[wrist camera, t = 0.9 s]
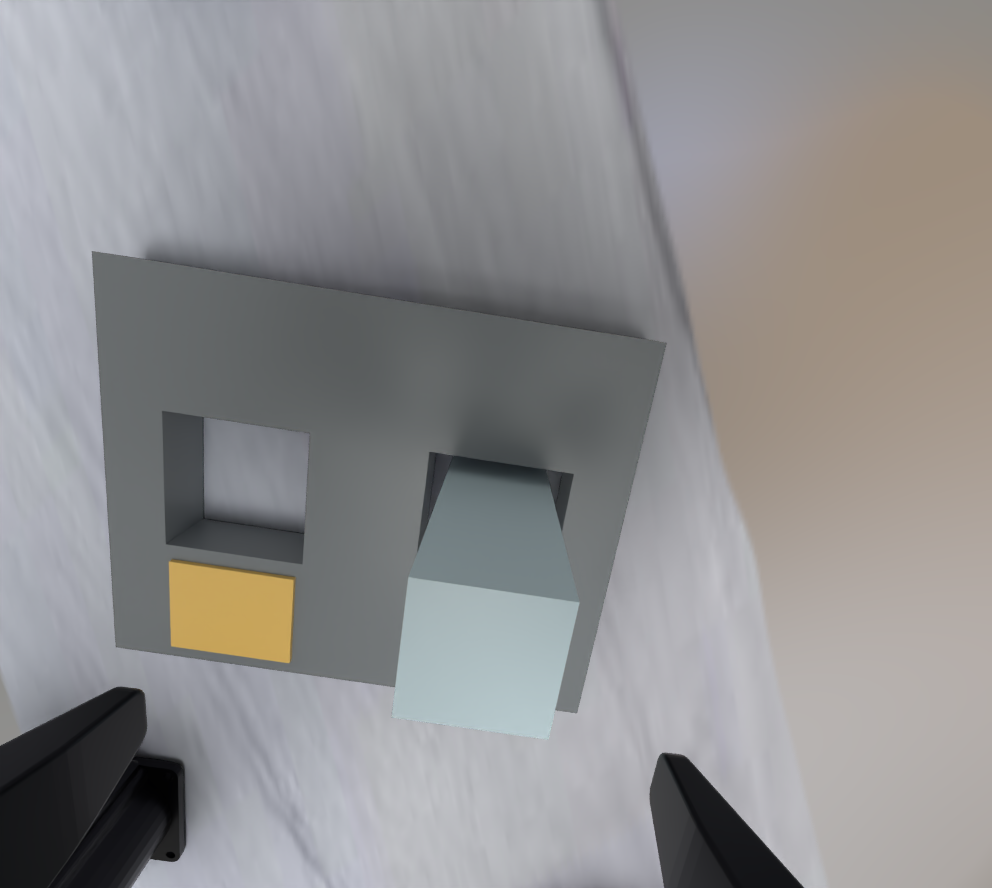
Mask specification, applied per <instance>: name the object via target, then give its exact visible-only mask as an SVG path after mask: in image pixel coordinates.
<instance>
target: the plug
mask: <svg viewBox="0 0 992 888" xmlns="http://www.w3.org/2000/svg"><path fill="white" fill-rule="evenodd" d="M579 603H580V602H579V598H578V594H577V590H576V586H575V582H574V579H573V575H572V571H571V567H570V563H569V559H568V555H567V551H566V547H565V543H564V539H563V535H562V531H561V528H560V524H559V520H558V516H557V512H556V508H555V504H554V500H553V496H552V492H551V488H550V484H549V481H548V477H547V473H546V470H545V469H539V468H532V467H526V466H519V465H513V464H506V463H500V462H493V461H487V460H480V459H474V458H467V457H460V456H454V455H453V458H452V461H451V463H450V466H449V469H448V472H447V474H446V477H445V480H444V482H443V485H442V488H441V490H440V493H439V496H438V498H437V501H436V504H435V507H434V509H433V512H432V515H431V517H430V520H429V523H428V525H427V528H426V531H425V533H424V536H423V539H422V542H421V544H420V547H419V550H418V552H417V555H416V558H415V560H414V563H413V566H412V568H411V571H410V574H409V577H408V584H407V592H406V600H405V609H404V617H403V625H402V634H401V642H400V651H399V659H398V667H397V676H396V684H395V692H394V701H393V709H392V718H398V719H405V720H412V721H419V722H426V723H433V724H440V725H448V726H455V727H462V728H469V729H476V730H483V731H490V732H497V733H504V734H511V735H518V736H525V737H532V738H539V739H546V740H548V739H549V735H550V731H551V726H552V722H553V717H554V713H555V709H556V704H557V700H558V695H559V691H560V687H561V682H562V678H563V673H564V669H565V665H566V660H567V656H568V651H569V647H570V643H571V638H572V634H573V629H574V625H575V621H576V616H577V612H578V607H579Z"/></svg>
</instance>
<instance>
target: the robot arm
mask: <svg viewBox="0 0 992 888" xmlns="http://www.w3.org/2000/svg"><path fill="white" fill-rule="evenodd" d="M146 731H147V717H146V703H145V694H144V692H143V691H142V690H140V689H136V688H128V687H116V688H113V689H111V690H109V691H107V692H105V693H103V694H101V695H99V696H97V697H95V698H93V699H91V700H89V701H87V702H85V703H83V704H81V705H79V706H77V707H75V708H73V709H72V710H70V711H68V712H66V713H64V714H62V715H60V716H58V717H56V718H54V719H52V720H50V721H48V722H46V723H44V724H42V725H40V726H38V727H36V728H34V729H32V730H30V731H28V732H26V733H24V734H22V735H20V736H18V737H17V738H15V739H13V740H11V741H9V742H7V743H5V744H3V745H1V746H0V888H131V887H132V886H133V884H134V883H135V881H136V880H137V878H138V876H139V875H140V873H141V872H142V870H143V869H144V867H145V866H146V864H147V863H148V861H149V860H150V859H154V860H162V861H169V862H175V861H177V860H178V859H179V858H180V857H181V855H182V853H183V852H184V849H185V846H184V794H183V769H182V767H181V766H180V765H179V764H178V763H175V762H169V761H162V760H155V759H148V758H141V757H134V755H135V754H136V752H137V750H138V749H139V747H140V746H141V744H142V742H143V740H144V738H145V735H146ZM650 806H651V812H652V818H653V824H654V830H655V836H656V842H657V847H658V853H659V859H660V865H661V871H662V877H663V883H664V888H804V887H803V886H802V885H801V884H800V883H799V882H798V880H797V879H796V878H795V877H794V876H793V875H792V874H791V873H790V872H789V870H788V869H787V868H786V867H785V866H784V865H783V864H782V863H781V861H780V860H779V859H778V858H777V857H776V856H775V855H774V854H773V853H772V851H771V850H770V849H769V848H768V847H767V846H766V845H765V844H764V843H763V841H762V840H761V839H760V838H759V837H758V836H757V835H756V834H755V833H754V831H753V830H752V829H751V828H750V827H749V826H748V825H747V824H746V822H745V821H744V820H743V819H742V818H741V817H740V816H739V815H738V814H737V812H736V811H735V810H734V809H733V808H732V807H731V806H730V805H729V804H728V802H727V801H726V800H725V799H724V798H723V797H722V796H721V795H720V794H719V792H718V791H717V790H716V789H715V788H714V787H713V786H712V785H711V783H710V782H709V781H708V780H707V779H706V778H705V777H704V776H703V775H702V773H701V772H700V771H699V770H698V769H697V768H696V767H695V766H694V765H693V763H692V762H691V761H690V760H689V759H688V758H687V757H685V756H684V755H680V754H672V753H662V754H661V755H660V756H659V758H658V761H657V765H656V768H655V772H654V776H653V779H652V783H651V787H650Z"/></svg>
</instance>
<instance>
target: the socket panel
mask: <svg viewBox="0 0 992 888" xmlns="http://www.w3.org/2000/svg"><path fill="white" fill-rule="evenodd" d="M92 260H93V277H94V293H95V310H96V327H97V343H98V360H99V377H100V393H101V410H102V426H103V443H104V460H105V476H106V493H107V510H108V526H109V543H110V559H111V576H112V593H113V609H114V626H115V642H116V647H118V648H125V649H132V650H139V651H146V652H153V653H160V654H167V655H174V656H181V657H188V658H195V659H202V660H209V661H216V662H223V663H230V664H237V665H244V666H251V667H258V668H265V669H272V670H279V671H286V672H292V673H299V674H306V675H313V676H320V677H327V678H334V679H341V680H348V681H355V682H362V683H369V684H376V685H383V686H390V687H395V684H396V676H397V667H398V659H399V651H400V642H401V634H402V625H403V617H404V609H405V600H406V592H407V584H408V577H409V574H410V571H411V568H412V566H413V563H414V560H415V558H416V555H417V552H418V550H419V547H420V544H421V542H422V539H423V536H424V533H425V531H426V528H427V522H428V514H429V506H430V498H431V490H432V483H433V475H434V467H435V459H436V453H441V454H447V455H454V456H460V457H467V458H474V459H480V460H487V461H493V462H500V463H506V464H513V465H519V466H526V467H532V468H539V469H545V470H552V471H558V472H563V473H562V478H561V483H560V488H559V493H558V498H557V503H556V512H557V516H558V520H559V524H560V528H561V531H562V535H563V539H564V543H565V547H566V551H567V555H568V559H569V563H570V567H571V571H572V575H573V579H574V582H575V586H576V590H577V594H578V598H579V602H580V603H579V607H578V612H577V616H576V621H575V625H574V629H573V634H572V638H571V643H570V647H569V651H568V656H567V660H566V665H565V669H564V673H563V678H562V682H561V687H560V691H559V695H558V700H557V704H556V709H555V710H557V711H564V712H571V713H577V711H578V707H579V703H580V699H581V694H582V690H583V686H584V682H585V678H586V674H587V670H588V666H589V661H590V657H591V653H592V649H593V645H594V641H595V637H596V632H597V628H598V624H599V620H600V616H601V612H602V608H603V603H604V599H605V595H606V591H607V587H608V583H609V579H610V575H611V570H612V566H613V562H614V558H615V554H616V550H617V546H618V541H619V537H620V533H621V529H622V525H623V521H624V517H625V512H626V508H627V504H628V500H629V496H630V492H631V488H632V484H633V479H634V475H635V471H636V467H637V463H638V459H639V455H640V450H641V446H642V442H643V438H644V434H645V430H646V426H647V422H648V417H649V413H650V409H651V405H652V401H653V397H654V393H655V388H656V384H657V380H658V376H659V372H660V368H661V364H662V359H663V355H664V351H665V347H666V343H664V342H658V341H653V340H647V339H641V338H635V337H628V336H622V335H616V334H610V333H603V332H597V331H591V330H585V329H578V328H572V327H566V326H560V325H553V324H547V323H541V322H535V321H528V320H522V319H516V318H510V317H503V316H497V315H491V314H485V313H478V312H472V311H466V310H460V309H453V308H447V307H441V306H434V305H428V304H422V303H416V302H409V301H403V300H397V299H391V298H384V297H378V296H372V295H366V294H359V293H353V292H347V291H341V290H334V289H328V288H322V287H316V286H309V285H303V284H297V283H291V282H284V281H278V280H272V279H265V278H259V277H253V276H247V275H240V274H234V273H228V272H222V271H215V270H209V269H203V268H197V267H190V266H184V265H178V264H172V263H165V262H159V261H153V260H147V259H140V258H134V257H127V256H121V255H114V254H107V253H101V252H94V251H92ZM203 417H207V418H213V419H220V420H226V421H233V422H239V423H246V424H252V425H259V426H265V427H272V428H278V429H285V430H291V431H298V432H304V433H310V439H309V458H308V476H307V494H306V512H305V530H304V534H302V533H295V532H288V531H282V530H275V529H268V528H262V527H255V526H248V525H242V524H235V523H228V522H222V521H215V520H208V519H203Z"/></svg>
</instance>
